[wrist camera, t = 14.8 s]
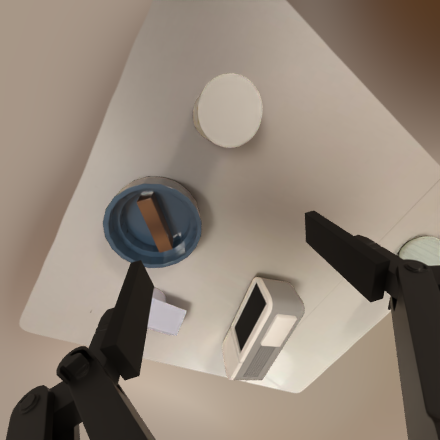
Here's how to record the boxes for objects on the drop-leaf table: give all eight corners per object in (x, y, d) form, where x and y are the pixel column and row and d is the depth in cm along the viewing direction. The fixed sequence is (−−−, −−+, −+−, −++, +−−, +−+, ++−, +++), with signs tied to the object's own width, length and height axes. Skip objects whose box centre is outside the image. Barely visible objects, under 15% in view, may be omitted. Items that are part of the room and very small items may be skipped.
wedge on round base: (186, 300, 53) (138, 281, 48) (187, 322, 47) (132, 303, 42) (168, 323, 55) (120, 307, 50) (166, 347, 49) (112, 332, 44)
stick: (140, 195, 39) (136, 202, 35) (153, 191, 39) (151, 197, 35) (161, 242, 44) (159, 253, 40) (173, 239, 44) (172, 249, 40)
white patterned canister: (182, 113, 35) (183, 108, 24) (218, 77, 34) (235, 55, 23) (214, 150, 38) (226, 160, 28) (247, 119, 37) (274, 117, 26)
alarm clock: (254, 269, 52) (273, 306, 42) (285, 275, 55) (310, 311, 44) (220, 342, 62) (228, 387, 51) (248, 344, 64) (261, 387, 54)
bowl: (97, 189, 38) (83, 199, 32) (185, 165, 39) (185, 172, 33) (134, 259, 45) (128, 278, 40) (207, 238, 46) (211, 253, 41)
